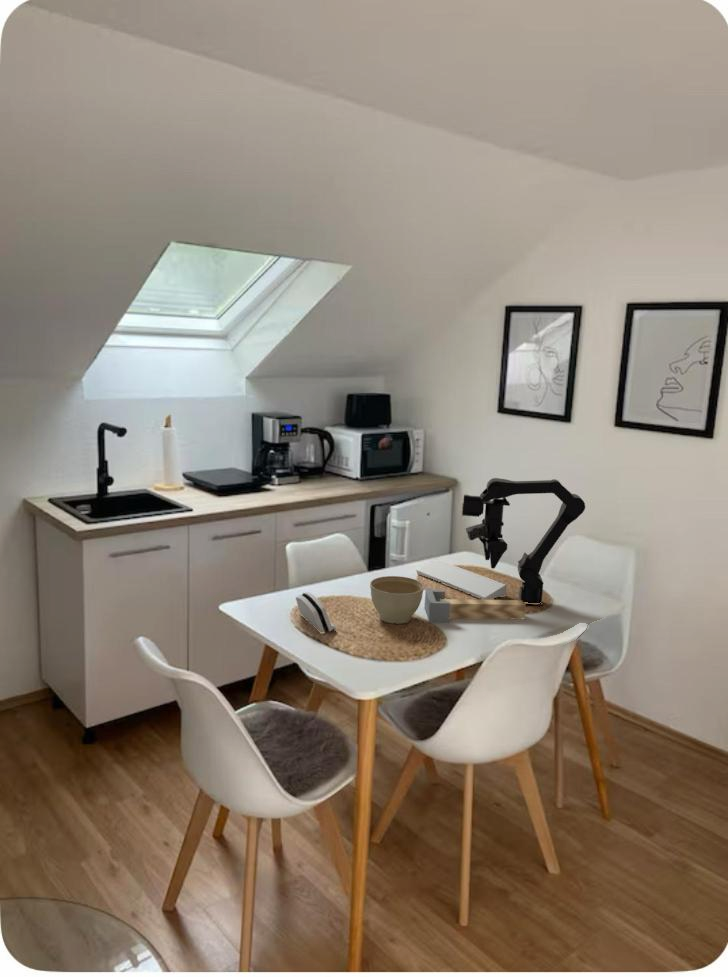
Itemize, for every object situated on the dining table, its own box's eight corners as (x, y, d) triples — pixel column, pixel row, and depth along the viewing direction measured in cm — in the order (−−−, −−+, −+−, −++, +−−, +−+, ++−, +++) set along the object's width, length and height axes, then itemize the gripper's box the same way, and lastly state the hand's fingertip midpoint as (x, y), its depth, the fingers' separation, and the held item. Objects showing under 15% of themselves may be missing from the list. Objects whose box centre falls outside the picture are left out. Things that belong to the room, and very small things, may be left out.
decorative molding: (486, 610, 246) (507, 597, 251) (485, 597, 244) (505, 584, 249) (417, 581, 272) (437, 570, 278) (415, 569, 271) (436, 558, 276)
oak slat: (520, 615, 235) (521, 600, 234) (524, 620, 231) (525, 604, 230) (438, 614, 233) (439, 599, 232) (440, 619, 229) (441, 603, 228)
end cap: (443, 608, 237) (444, 590, 236) (448, 622, 225) (450, 603, 224) (424, 607, 237) (425, 589, 236) (429, 621, 225) (430, 602, 224)
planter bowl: (360, 623, 222) (362, 588, 220) (378, 606, 237) (380, 573, 235) (413, 632, 217) (415, 596, 214) (428, 614, 231) (430, 580, 229)
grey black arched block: (337, 632, 214) (328, 602, 211) (323, 639, 212) (313, 609, 209) (315, 612, 229) (306, 584, 226) (302, 619, 227) (292, 591, 224)
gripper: (464, 510, 251) (460, 555, 254) (473, 523, 233) (470, 572, 236) (497, 511, 252) (493, 556, 255) (509, 525, 233) (505, 573, 236)
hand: (489, 564), depth 245 cm, fingers open, 9 cm apart
